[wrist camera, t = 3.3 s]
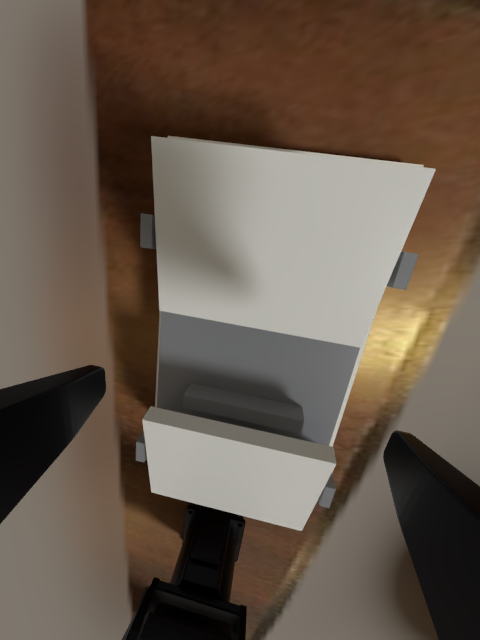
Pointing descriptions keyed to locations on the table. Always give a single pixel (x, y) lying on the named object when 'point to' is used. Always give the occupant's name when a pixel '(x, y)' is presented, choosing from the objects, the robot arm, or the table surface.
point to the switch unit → (257, 366)
